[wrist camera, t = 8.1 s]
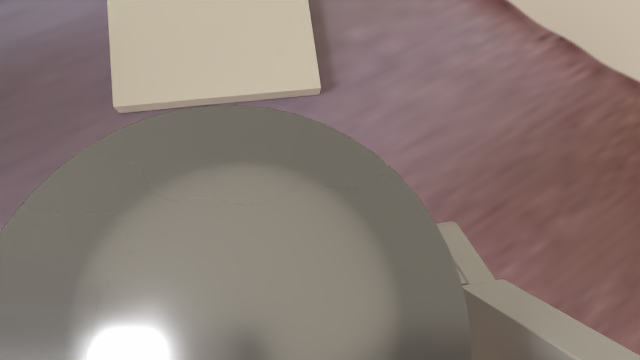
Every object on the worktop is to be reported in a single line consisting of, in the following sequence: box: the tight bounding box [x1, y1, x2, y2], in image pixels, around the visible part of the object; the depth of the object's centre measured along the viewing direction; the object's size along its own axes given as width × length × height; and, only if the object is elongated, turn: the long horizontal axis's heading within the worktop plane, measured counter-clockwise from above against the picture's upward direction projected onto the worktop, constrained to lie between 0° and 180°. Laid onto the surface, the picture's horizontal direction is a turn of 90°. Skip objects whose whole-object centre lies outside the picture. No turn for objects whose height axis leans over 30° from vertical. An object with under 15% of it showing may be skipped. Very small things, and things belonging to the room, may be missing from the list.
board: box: [107, 0, 321, 113], centre depth 30 cm, size 14×14×1 cm
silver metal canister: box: [0, 105, 472, 360], centre depth 9 cm, size 5×5×8 cm
